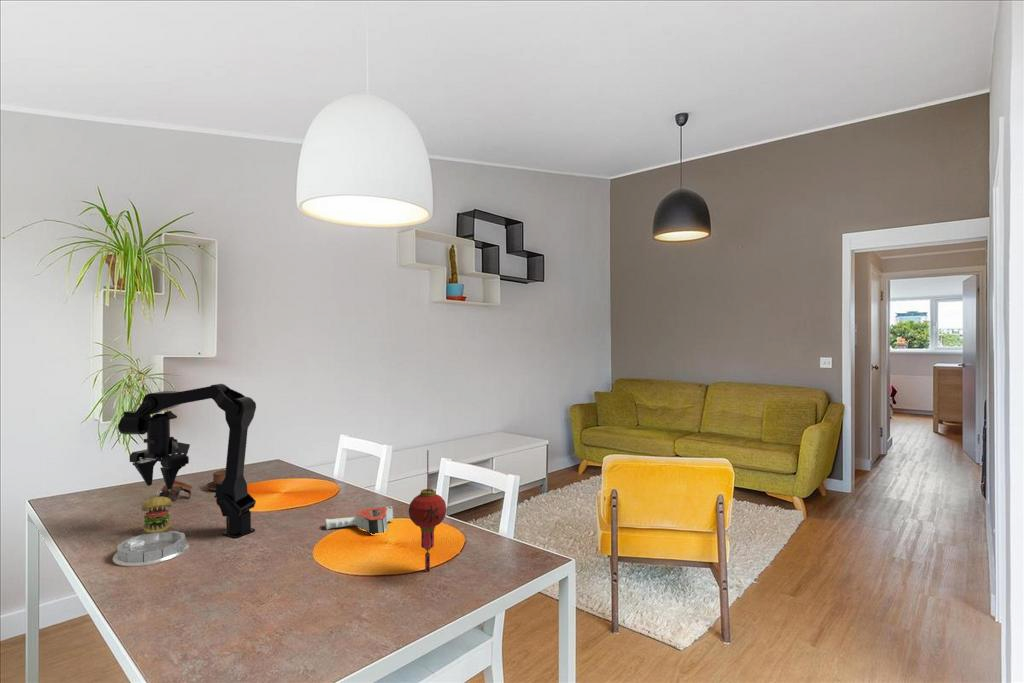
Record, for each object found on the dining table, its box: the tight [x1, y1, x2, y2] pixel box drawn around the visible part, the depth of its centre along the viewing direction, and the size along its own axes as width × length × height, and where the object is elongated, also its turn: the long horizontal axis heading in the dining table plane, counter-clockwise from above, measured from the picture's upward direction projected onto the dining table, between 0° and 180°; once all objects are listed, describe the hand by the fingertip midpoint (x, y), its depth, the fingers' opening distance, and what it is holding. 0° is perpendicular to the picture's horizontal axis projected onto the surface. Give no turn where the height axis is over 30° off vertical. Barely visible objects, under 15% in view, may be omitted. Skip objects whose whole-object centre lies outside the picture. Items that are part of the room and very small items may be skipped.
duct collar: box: [112, 530, 190, 568], centre depth 146 cm, size 17×17×3 cm
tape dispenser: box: [324, 505, 394, 534], centre depth 166 cm, size 18×5×20 cm
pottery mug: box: [158, 479, 193, 503], centre depth 190 cm, size 12×10×8 cm
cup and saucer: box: [205, 469, 226, 492], centre depth 206 cm, size 12×12×6 cm
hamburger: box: [140, 489, 174, 534], centre depth 161 cm, size 8×7×12 cm
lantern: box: [408, 450, 448, 573], centre depth 135 cm, size 10×10×30 cm
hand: (159, 487), depth 162 cm, fingers open, 9 cm apart
